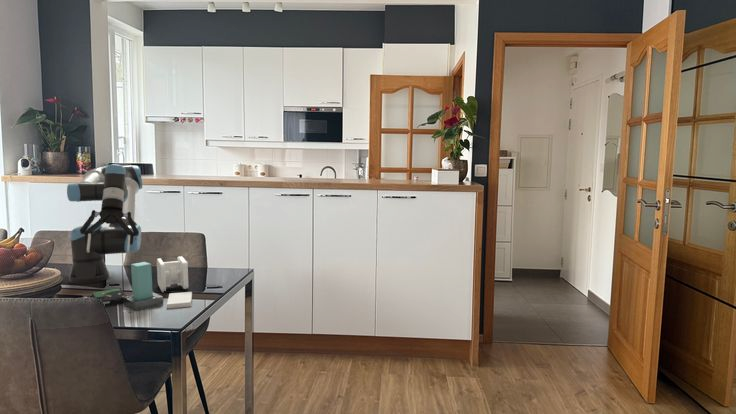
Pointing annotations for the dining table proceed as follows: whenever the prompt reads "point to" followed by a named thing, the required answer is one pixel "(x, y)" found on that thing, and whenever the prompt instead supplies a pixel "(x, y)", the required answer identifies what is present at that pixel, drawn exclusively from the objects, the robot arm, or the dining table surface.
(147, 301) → the socket block
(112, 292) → the disk drive
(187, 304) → the off-white pad
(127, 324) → the dining table surface
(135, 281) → the teal peg
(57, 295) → the dining table surface
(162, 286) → the cable organizer
